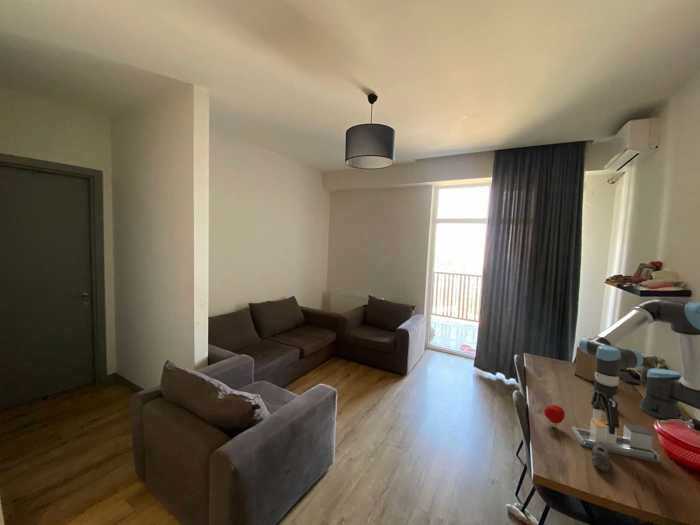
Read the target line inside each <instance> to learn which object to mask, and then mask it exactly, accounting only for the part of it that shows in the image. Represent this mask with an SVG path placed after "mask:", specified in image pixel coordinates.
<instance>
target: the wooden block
mask: <svg viewBox="0 0 700 525" xmlns="http://www.w3.org/2000/svg"><path fill="white" fill-rule="evenodd" d="M595 373H596V357H594V356H591V355H588V354H586V353H584V352H582V351H581V350H580V348H579V346H576V352H575V365H574V375H575V374H576V375H578V376H577V377H579V376H580V377H579V378H581V377H582V378H581V379H583V380H586V379H587V380H586V381H588V380H589V382H592V381H593V382H594V381H595V380H596V379H595V375H594V374H595ZM576 375H575V376H576Z"/></svg>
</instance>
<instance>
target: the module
mask: <svg viewBox="0 0 700 525" xmlns="http://www.w3.org/2000/svg"><path fill="white" fill-rule="evenodd" d="M606 424H608V421H607V420H602V419H601V420H597V419H593V417H592V418H590V422H589V425H590V426H589V430H590V434H589V436H590V437H591V438H592V440H594V441H598V442H603V443H608V444H613V445H616V436H618V434H617V432H618V428H615V441H610V440H606Z"/></svg>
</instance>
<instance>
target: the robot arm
mask: <svg viewBox="0 0 700 525" xmlns="http://www.w3.org/2000/svg"><path fill="white" fill-rule="evenodd" d="M655 322H662V323H664V324H669V325H670V329H671V331H672V332H674V333H676V337H677V338H676V339H677V344H678V351H679V357H680V364H681V369H682V374H681V373H680V372H678V371H675V370H671V369H670V370H669V369H663V368H649V369H648V370H647V374H646V386H645V395H644V396H643V398H641V399H642V400H641V401H640V403H639V409H640V410H641V411H643V413H646V414H648V415H649V416H652V417H655V418H657V419H660V420H663V419H682V420H683V414H682V410H681V408H680V405H679V402H680V403H682V404H684V405H687V406H690V407H692V408H694V409H697V410H699V411H700V302H696V301H686V300H679V299H672V298H667V297H656V298H652V299H648V300H645V301H642V302H639V303H637V304H636V305H633V306H632V307H631V308H630V309H629V310H628V313H627V314H625V315H624V316H622V317H621V318H619V319H618V320H617V321H615V322H614V323H613V324H611V325H610V326H608V327H607V328H606V329H604V330H603V331H602V332H600V333H598V334H597V335H596V336H594V337H593V338H589V337H583V338H581V339H580V340H579V342H578V347H579V348H580V350H581V351H582V352H584V353H586V354H588V355H591V356H594V357H596V373H595V374H594V375H595V379H596V380H594V391H593V394H592V398H591V401H590V404H591V405H592V408H593V410H592V419H597V420H602V410H603V409H604V408H605V409H604V411H605V415H606V421H608V424H606V440H610V441H615V428H616V429H620V420H619V410H618V406H619V403H618V402H617V401H616V402H614V400H615V399H614V396H617V395H618V393H619V386H618V385H619V383H620V370H623V369H635V368H639V367H642V365H643V364H644V357H643V354H641V353H640V352H639V351H637V350H635V349H630V348H626V349H624V348H621V347H620V348H619V347H618V345H619V344H620V343H622V342H623V341H625V340H626V339H627V338H629V337H630V336H631V335H632V334H634V333H635V332H637V331H638V330H640V329H641V328H643V327H644V326H645V325H651V324H653V323H655ZM613 399H614V400H613ZM606 405H608V406H606ZM602 406H603V407H604V408H603V407H602Z"/></svg>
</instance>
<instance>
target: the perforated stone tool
mask: <svg viewBox="0 0 700 525" xmlns="http://www.w3.org/2000/svg"><path fill="white" fill-rule="evenodd" d="M591 450H592V451H591V456H592V458H591V461H592V464H593V466H594V467H595V468H597V469H599V470H601V471H602V472H605V473H607V472H608V471H609V469H610V452H608V450H607V448H606V446H605V445H604V444H603V443H601V442H598V443H596V444H595V445H594V447H593V448H591Z"/></svg>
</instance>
